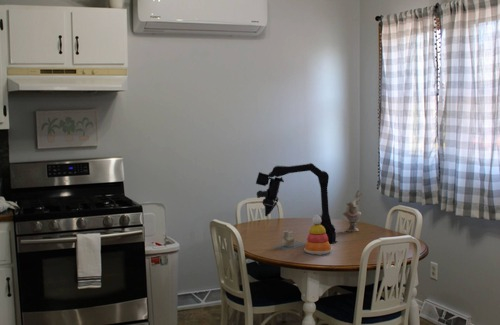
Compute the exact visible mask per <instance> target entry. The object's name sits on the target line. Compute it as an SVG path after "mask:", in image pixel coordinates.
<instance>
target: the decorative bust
mask: <svg viewBox="0 0 500 325" xmlns="http://www.w3.org/2000/svg"><path fill="white" fill-rule="evenodd" d="M359 193H360V190H357V191H356V193H355V196H354V200H353V201H352V200H350V201H349V202H346V209H345V211H344V212H343V213H342V215H343V216H344V217H346V218H347V220H348V224H349V227H347V228H346V231H347V232H349V231H357V232H359V231H360V230H359V228H357V227H356V224H357V222H358V221H359V219H360V216H362V212H361V211H359V207H358V205H359V202H360V201H361V200H360V199H358V198H359V197H361V196H362V194H363V193H362V192H361V193H360V194H359Z"/></svg>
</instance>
